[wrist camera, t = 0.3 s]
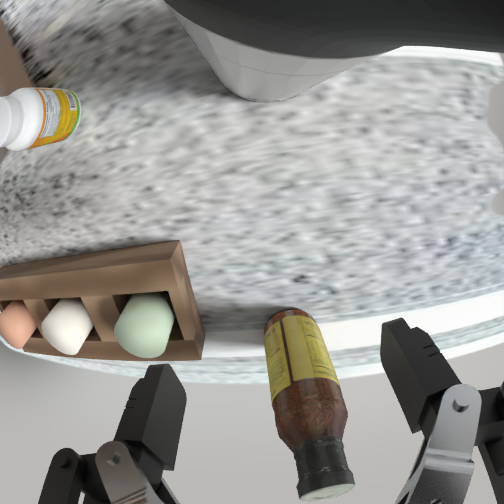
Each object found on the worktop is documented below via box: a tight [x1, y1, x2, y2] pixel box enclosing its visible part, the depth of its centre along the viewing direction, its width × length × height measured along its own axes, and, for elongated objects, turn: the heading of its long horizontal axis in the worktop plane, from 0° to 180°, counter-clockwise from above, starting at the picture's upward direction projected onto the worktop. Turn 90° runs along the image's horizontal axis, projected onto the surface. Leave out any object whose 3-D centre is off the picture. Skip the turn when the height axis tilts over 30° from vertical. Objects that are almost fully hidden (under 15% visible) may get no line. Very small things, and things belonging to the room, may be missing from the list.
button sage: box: [114, 291, 176, 358], centre depth 25 cm, size 5×5×5 cm
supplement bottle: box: [0, 87, 82, 151], centre depth 16 cm, size 5×5×10 cm
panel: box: [0, 240, 205, 361], centre depth 28 cm, size 12×28×4 cm, turn 97°
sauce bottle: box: [264, 309, 355, 501], centre depth 23 cm, size 6×6×20 cm
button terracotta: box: [0, 300, 37, 349], centre depth 26 cm, size 5×5×5 cm
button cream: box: [41, 297, 94, 355], centre depth 26 cm, size 5×5×5 cm
